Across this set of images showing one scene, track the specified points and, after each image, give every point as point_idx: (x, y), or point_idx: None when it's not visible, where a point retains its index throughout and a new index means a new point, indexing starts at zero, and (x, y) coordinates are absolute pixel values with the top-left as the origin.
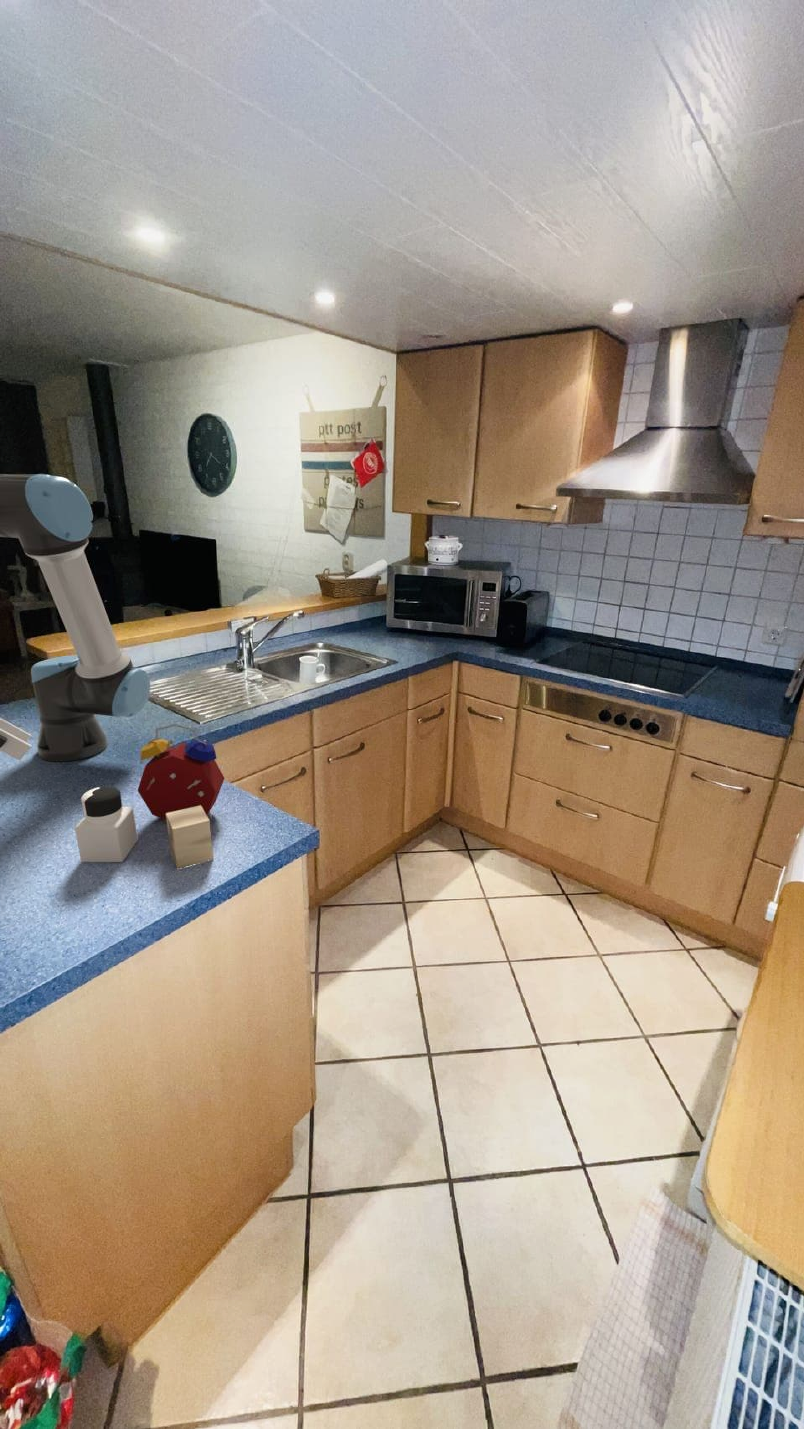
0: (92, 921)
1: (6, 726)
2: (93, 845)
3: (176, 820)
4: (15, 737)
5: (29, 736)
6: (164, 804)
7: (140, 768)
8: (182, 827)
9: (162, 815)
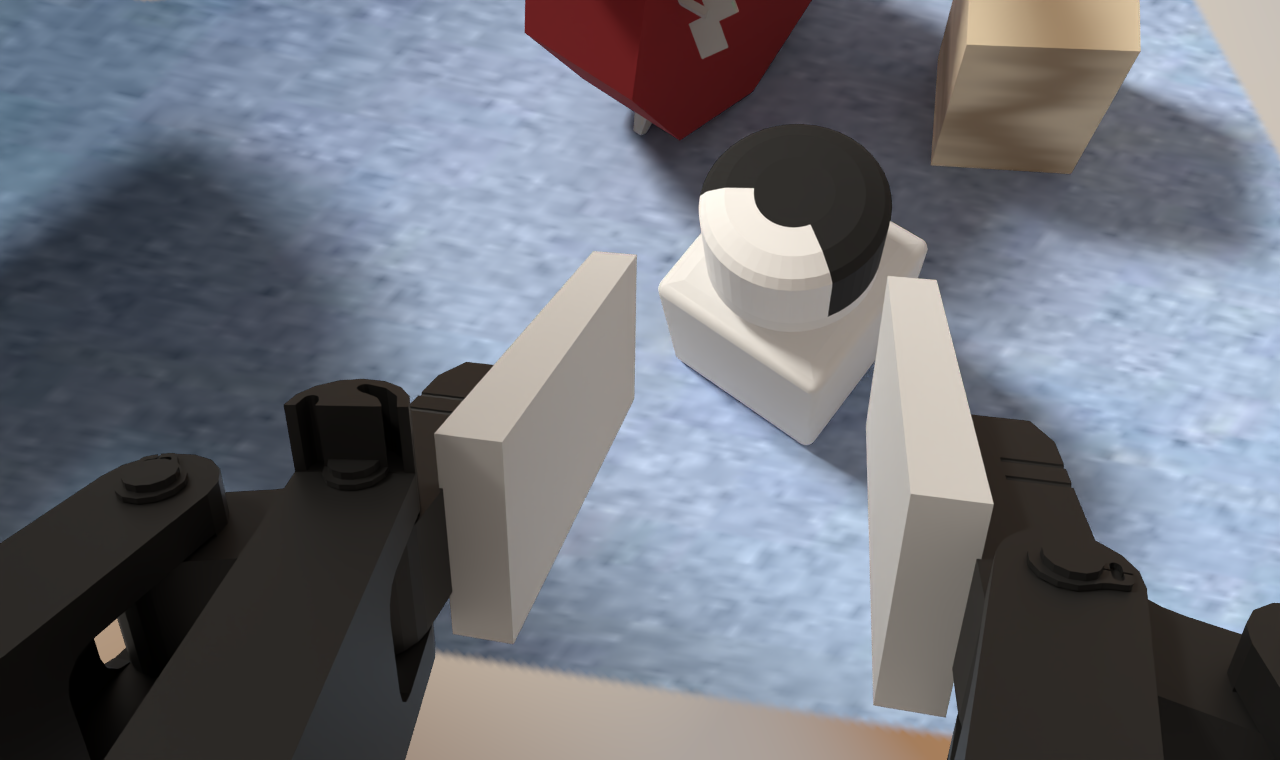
0: (1270, 497)
1: (580, 373)
2: (854, 371)
3: (1064, 23)
4: (924, 339)
5: (632, 267)
6: (712, 67)
7: (182, 107)
8: (1138, 18)
9: (706, 112)
